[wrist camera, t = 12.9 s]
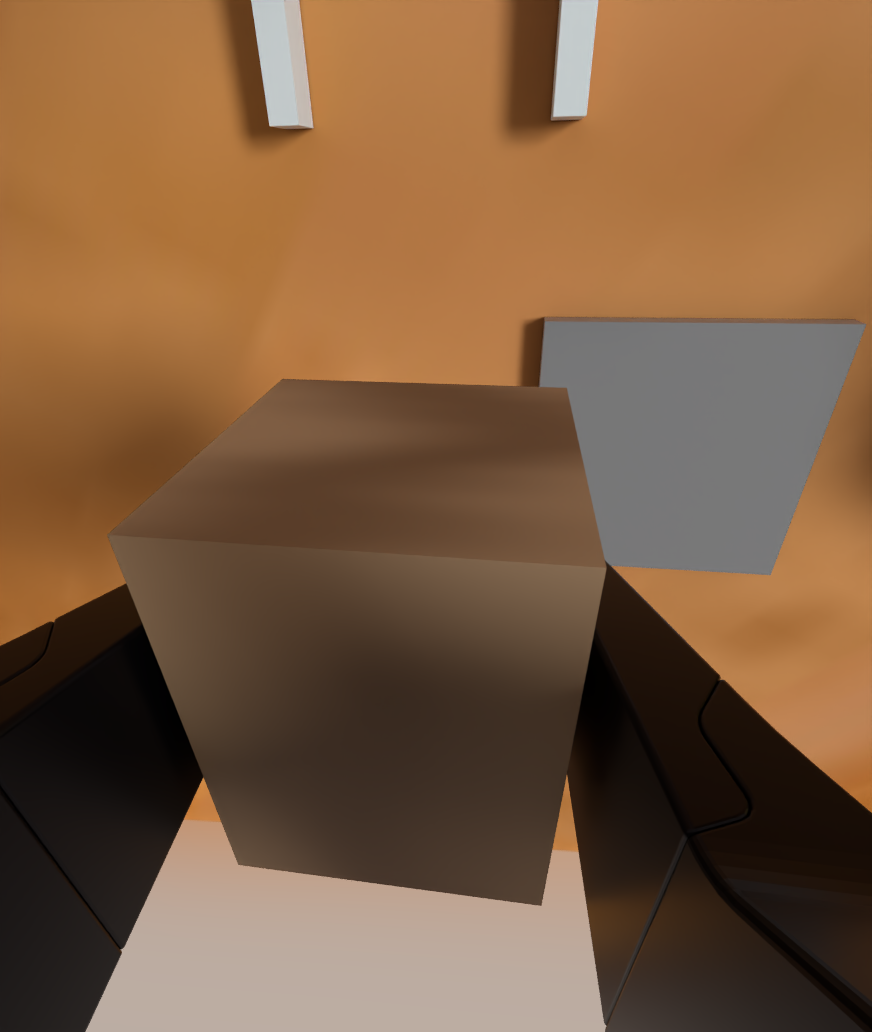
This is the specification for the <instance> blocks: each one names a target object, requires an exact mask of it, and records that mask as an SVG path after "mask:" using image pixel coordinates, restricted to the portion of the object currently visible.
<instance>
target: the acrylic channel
mask: <svg viewBox="0 0 872 1032" xmlns="http://www.w3.org/2000/svg"><path fill="white" fill-rule="evenodd" d="M251 2H252V9H253V16H254V23H255V30H256V37H257V44H258V50H259V57H260V64H261V71H262V78H263V85H264V91H265V98H266V105H267V112H268V119H269V126H271V127H277V128H282V129H306V128H313V120H312V111H311V102H310V93H309V84H308V75H307V67H306V58H305V49H304V40H303V31H302V22H301V13H300V4H299V0H251ZM597 7H598V0H560V2H559V15H558V29H557V42H556V56H555V69H554V82H553V96H552V109H551V121H552V120H582V119H583V118H584V117H585V116H586V115H587V105H588V95H589V85H590V75H591V66H592V56H593V46H594V36H595V26H596V17H597Z"/></svg>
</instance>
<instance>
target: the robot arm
mask: <svg viewBox="0 0 872 1032" xmlns="http://www.w3.org/2000/svg"><path fill="white" fill-rule="evenodd" d="M605 563H606V574H605V579H604V584H603V589H602V594H601V599H600V605H599V610H598V615H597V620H596V625H595V630H594V636H593V641H592V646H591V651H590V656H589V662H588V667H587V672H586V677H585V682H584V687H583V693H582V698H581V703H580V708H579V713H578V718H577V724H576V729H575V734H574V739H573V744H572V749H571V755H570V760H569V765H568V770H567V776H568V783H569V790H570V796H571V803H572V810H573V817H574V823H575V830H576V837H577V843H578V850H579V857H580V863H581V870H582V877H583V883H584V891H585V897H586V904H587V910H588V917H589V924H590V931H591V937H592V944H593V951H594V958H595V964H596V971H597V978H598V985H599V991H600V998H601V1005H602V1012H603V1018H604V1023H605V1025H606V1026H607V1027H606V1029H605V1032H872V813H871V812H870V811H869V810H868V809H867V808H865V807H864V806H863V805H862V804H861V803H859V802H858V801H857V800H856V799H855V798H854V797H852V796H851V795H850V794H849V793H848V792H847V791H845V790H844V789H843V788H842V787H841V786H839V785H838V784H837V783H836V782H835V781H834V780H832V779H831V778H830V777H829V776H828V775H826V774H825V773H824V772H823V771H822V770H821V769H819V768H818V767H817V766H816V765H815V764H814V763H813V762H811V761H810V760H809V759H808V758H807V757H806V756H805V755H804V754H802V753H801V752H800V751H799V750H798V749H797V748H796V747H794V746H793V745H792V744H791V743H790V742H789V741H788V740H787V739H785V738H784V737H783V736H782V735H781V734H780V733H779V732H777V731H776V730H775V729H774V728H773V727H772V726H771V725H770V724H769V723H768V722H767V721H766V720H765V719H764V718H763V717H762V716H761V715H760V714H759V713H758V712H757V711H756V710H754V709H753V708H752V707H751V706H750V705H749V704H748V703H747V702H746V701H745V700H744V699H743V698H742V697H741V696H740V695H739V694H738V693H737V692H736V691H735V690H734V689H733V688H732V687H731V686H730V685H729V684H728V683H727V682H726V681H725V680H720V679H721V677H720V675H719V674H718V673H717V672H716V671H715V670H714V669H713V668H712V667H711V666H710V665H709V664H708V663H707V662H706V661H705V660H704V659H703V658H702V657H701V656H700V655H699V654H698V653H697V652H696V651H695V650H694V649H693V648H692V647H691V646H690V645H689V644H688V643H687V642H686V641H685V640H684V639H683V638H682V637H681V636H680V635H679V634H678V633H677V632H676V631H675V630H674V629H673V628H672V627H671V626H670V625H669V624H668V623H667V622H666V621H665V620H664V619H663V618H662V617H661V616H660V615H659V614H658V613H657V612H656V611H655V610H654V609H653V608H652V607H651V606H650V605H649V604H648V603H647V602H646V601H645V600H644V599H643V598H642V597H641V596H640V595H639V594H638V593H637V592H636V591H635V590H634V589H633V588H632V587H631V586H630V585H629V584H628V583H627V582H626V581H625V580H624V579H623V578H622V577H621V576H620V575H619V574H618V573H617V572H616V571H615V570H614V569H613V568H612V567H611V566H610V565H609V564H608V563H607V561H606V560H605ZM202 779H203V774H202V772H201V769H200V767H199V764H198V762H197V759H196V757H195V754H194V752H193V749H192V747H191V744H190V742H189V739H188V737H187V734H186V732H185V729H184V727H183V724H182V722H181V719H180V717H179V714H178V712H177V709H176V707H175V704H174V702H173V699H172V696H171V694H170V691H169V689H168V686H167V684H166V681H165V679H164V676H163V674H162V671H161V669H160V666H159V664H158V661H157V659H156V656H155V654H154V651H153V649H152V646H151V644H150V641H149V639H148V636H147V634H146V631H145V629H144V626H143V624H142V621H141V619H140V616H139V614H138V611H137V609H136V606H135V604H134V601H133V599H132V596H131V593H130V591H129V588H128V586H127V583H126V584H124V585H122V586H120V587H118V588H116V589H114V590H112V591H110V592H108V593H106V594H104V595H102V596H100V597H98V598H96V599H94V600H92V601H90V602H88V603H86V604H84V605H82V606H80V607H78V608H76V609H74V610H72V611H70V612H68V613H66V614H64V615H62V616H60V617H58V618H56V620H55V622H48V623H46V624H44V625H42V626H40V627H38V628H36V629H34V630H32V631H30V632H28V633H26V634H24V635H22V636H20V637H18V638H16V639H14V640H12V641H10V642H7V643H5V644H3V645H1V646H0V1032H85V1031H86V1029H87V1027H88V1025H89V1023H90V1021H91V1019H92V1016H93V1014H94V1012H95V1010H96V1008H97V1006H98V1003H99V1001H100V999H101V997H102V995H103V993H104V991H105V988H106V986H107V984H108V982H109V980H110V978H111V976H112V973H113V971H114V969H115V967H116V965H117V962H118V960H119V958H120V956H121V954H122V951H121V950H120V949H123V948H124V946H125V944H126V942H127V940H128V938H129V936H130V934H131V932H132V929H133V927H134V925H135V923H136V921H137V918H138V916H139V914H140V912H141V910H142V908H143V906H144V904H145V901H146V899H147V897H148V895H149V893H150V891H151V889H152V886H153V884H154V882H155V880H156V878H157V875H158V873H159V871H160V869H161V867H162V865H163V863H164V861H165V858H166V856H167V854H168V852H169V849H170V848H171V845H172V843H173V841H174V839H175V837H176V835H177V833H178V830H179V828H180V826H181V824H182V822H183V820H184V818H185V815H186V813H187V811H188V809H189V807H190V805H191V802H192V800H193V798H194V796H195V794H196V792H197V790H198V787H199V785H200V783H201V781H202Z"/></svg>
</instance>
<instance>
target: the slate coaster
mask: <svg viewBox="0 0 872 1032" xmlns="http://www.w3.org/2000/svg"><path fill="white" fill-rule="evenodd" d="M865 326H866V324H865V323H862V322H860V321H858V320H855V319H733V318H606V317H544V325H543V337H542V350H541V362H540V374H539V386H538V387H556V388H567V391H568V396H569V400H570V405H571V409H572V414H573V419H574V423H575V428H576V432H577V437H578V441H579V446H580V450H581V455H582V459H583V464H584V468H585V473H586V477H587V482H588V486H589V491H590V495H591V500H592V504H593V509H594V513H595V518H596V522H597V527H598V531H599V536H600V540H601V545H602V550H603V554H604V559H605V560H606V561H607V563H608V564H609V565H610V566H625V567H642V568H660V569H677V570H694V571H711V572H728V573H745V574H762V575H771V572H772V570H773V567H774V564H775V562H776V559H777V557H778V554H779V551H780V549H781V546H782V543H783V541H784V538H785V536H786V533H787V530H788V528H789V525H790V523H791V520H792V517H793V515H794V512H795V509H796V507H797V504H798V502H799V499H800V496H801V494H802V491H803V489H804V486H805V483H806V481H807V478H808V475H809V473H810V470H811V468H812V465H813V462H814V460H815V457H816V454H817V452H818V449H819V447H820V444H821V441H822V439H823V436H824V434H825V431H826V428H827V426H828V423H829V420H830V418H831V415H832V413H833V410H834V407H835V405H836V402H837V400H838V397H839V394H840V392H841V389H842V386H843V384H844V381H845V379H846V376H847V373H848V371H849V368H850V366H851V363H852V360H853V358H854V355H855V352H856V350H857V347H858V345H859V342H860V339H861V337H862V334H863V332H864V329H865Z"/></svg>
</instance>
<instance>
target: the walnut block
mask: <svg viewBox="0 0 872 1032" xmlns="http://www.w3.org/2000/svg"><path fill="white" fill-rule="evenodd" d="M107 536H108V538H109V541H110V543H111V546H112V548H113V551H114V553H115V556H116V558H117V561H118V563H119V566H120V568H121V571H122V573H123V576H124V578H125V581H126V583H127V586H128V588H129V591H130V593H131V596H132V599H133V601H134V604H135V606H136V609H137V611H138V614H139V616H140V619H141V621H142V624H143V626H144V629H145V631H146V634H147V636H148V639H149V641H150V644H151V646H152V649H153V651H154V654H155V656H156V659H157V661H158V664H159V666H160V669H161V671H162V674H163V676H164V679H165V681H166V684H167V686H168V689H169V691H170V694H171V696H172V699H173V702H174V704H175V707H176V709H177V712H178V714H179V717H180V719H181V722H182V724H183V727H184V729H185V732H186V734H187V737H188V739H189V742H190V744H191V747H192V749H193V752H194V754H195V757H196V759H197V762H198V764H199V767H200V769H201V772H202V774H203V777H204V779H205V782H206V784H207V787H208V789H209V792H210V794H211V797H212V799H213V802H214V805H215V807H216V810H217V812H218V815H219V817H220V820H221V822H222V824H223V827H224V830H225V832H226V835H227V837H228V840H229V842H230V844H231V847H232V850H233V852H234V855H235V857H236V860H237V862H238V864H239V865H244V866H252V867H259V868H266V869H274V870H281V871H288V872H296V873H303V874H311V875H318V876H326V877H333V878H340V879H347V880H355V881H362V882H369V883H377V884H384V885H392V886H399V887H407V888H414V889H422V890H429V891H436V892H444V893H452V894H458V895H466V896H473V897H480V898H488V899H495V900H503V901H510V902H518V903H525V904H532V905H540V906H541V905H542V899H543V894H544V889H545V884H546V878H547V873H548V868H549V863H550V858H551V853H552V848H553V843H554V837H555V832H556V827H557V822H558V817H559V812H560V806H561V801H562V796H563V791H564V786H565V780H566V775H567V770H568V765H569V760H570V755H571V749H572V744H573V739H574V734H575V729H576V724H577V718H578V713H579V708H580V703H581V698H582V693H583V687H584V682H585V677H586V672H587V667H588V662H589V656H590V651H591V646H592V641H593V636H594V630H595V625H596V620H597V615H598V610H599V605H600V599H601V594H602V589H603V584H604V579H605V574H606V563H605V559H604V554H603V550H602V545H601V540H600V536H599V531H598V527H597V522H596V518H595V513H594V509H593V504H592V500H591V495H590V491H589V486H588V482H587V477H586V473H585V468H584V464H583V459H582V455H581V450H580V446H579V441H578V437H577V432H576V428H575V423H574V419H573V414H572V409H571V405H570V400H569V396H568V391H567V388H556V387H524V386H491V385H459V384H426V383H394V382H361V381H328V380H296V379H282V380H281V381H280V382H279V383H277V384H276V385H275V386H274V387H273V388H272V389H271V390H270V391H268V392H267V393H266V394H265V395H264V396H263V397H262V398H261V399H259V400H258V401H257V402H256V403H255V404H254V405H253V406H252V407H250V408H249V409H248V410H247V411H246V412H245V413H244V414H243V415H241V416H240V417H239V418H238V419H237V420H236V421H235V422H234V423H232V424H231V425H230V426H229V427H228V428H227V429H226V430H225V431H223V432H222V433H221V434H220V435H219V436H218V437H217V438H216V439H214V440H213V441H212V442H211V443H210V444H209V445H208V446H207V447H205V448H204V449H203V450H202V451H201V452H200V453H199V454H198V455H196V456H195V457H194V458H193V459H192V460H191V461H190V462H189V463H187V464H186V465H185V466H184V467H183V468H182V469H181V470H180V471H178V472H177V473H176V474H175V475H174V476H173V477H172V478H171V479H169V480H168V481H167V482H166V483H165V484H164V485H163V486H162V487H160V488H159V489H158V490H157V491H156V492H155V493H154V494H153V495H151V496H150V497H149V498H148V499H147V500H146V501H145V502H144V503H142V504H141V505H140V506H139V507H138V508H137V509H136V510H135V511H133V512H132V513H131V514H130V515H129V516H128V517H127V518H126V519H124V520H123V521H122V522H121V523H120V524H119V525H118V526H117V527H115V528H114V529H113V530H112V531H111V532H110V533H109V534H108V535H107Z"/></svg>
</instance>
